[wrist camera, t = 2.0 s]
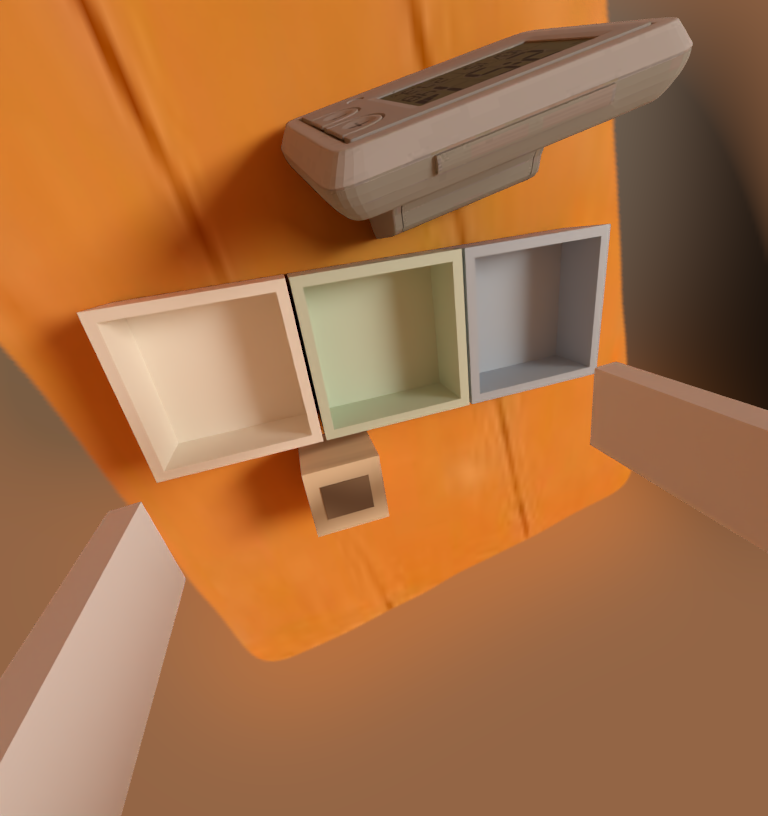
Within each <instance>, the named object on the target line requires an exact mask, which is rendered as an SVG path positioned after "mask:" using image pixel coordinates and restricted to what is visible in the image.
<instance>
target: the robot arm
mask: <svg viewBox="0 0 768 816" xmlns="http://www.w3.org/2000/svg"><path fill="white" fill-rule="evenodd" d="M590 445H592V446H593V447H595V448H597V449H598V450H600V451H601V452H603V453H605V454H606V455H608V456H610V457H611V458H613V459H615V460H616V461H618V462H619V463H621V464H623V465H624V466H626V467H628V468H629V469H631V470H633V471H634V472H636V473H637V474H639V475H641V476H643V477H644V478H646V479H647V480H649V481H650V482H652V483H654V484H656V485H657V486H659V487H661V488H662V489H664V490H665V491H667V492H669V493H670V494H672V495H674V496H675V497H677V498H678V499H680V500H682V501H683V502H685V503H686V504H688V505H690V506H691V507H693V508H695V509H696V510H698V511H700V512H701V513H703V514H705V515H706V516H708V517H710V518H711V519H713V520H714V521H716V522H717V523H719V524H721V525H723V526H724V527H726V528H727V529H729V530H731V531H732V532H734V533H735V534H737V535H739V536H740V537H742V538H744V539H745V540H747V541H749V542H750V543H752V544H753V545H755V546H757V547H758V548H760V549H762V550H763V551H765V552H767V553H768V410H765V409H762V408H758V407H755V406H752V405H749V404H746V403H743V402H740V401H737V400H734V399H731V398H727V397H724V396H721V395H718V394H715V393H712V392H709V391H705V390H702V389H699V388H696V387H693V386H690V385H687V384H684V383H681V382H678V381H674V380H671V379H668V378H665V377H662V376H659V375H656V374H653V373H650V372H647V371H643V370H640V369H637V368H634V367H631V366H628V365H625V364H622V363H619V362H613V363H610V364H607V365H603V366H600V367H596V368H595V372H594V389H593V406H592V423H591V440H590ZM185 580H186V578H185V577H184V575H183V573H182V571H181V570H180V568H179V566H178V565H177V563H176V561H175V559H174V558H173V556H172V554H171V552H170V551H169V549H168V547H167V546H166V544H165V542H164V540H163V539H162V537H161V535H160V533H159V532H158V530H157V528H156V527H155V525H154V523H153V521H152V520H151V518H150V516H149V514H148V513H147V511H146V509H145V508H144V506H143V504H142V502H138V503H135V504H132V505H128V506H125V507H121V508H118V509H115V510H111V511H108V512H107V514H106V516H105V517H104V519H103V520H102V522H101V523H100V525H99V526H98V528H97V530H96V531H95V533H94V534H93V536H92V537H91V539H90V540H89V542H88V543H87V545H86V546H85V548H84V550H83V551H82V553H81V554H80V556H79V558H78V559H77V561H76V562H75V563H74V565H73V567H72V568H71V570H70V571H69V573H68V574H67V576H66V577H65V579H64V581H63V582H62V584H61V585H60V587H59V588H58V590H57V591H56V593H55V594H54V596H53V598H52V599H51V601H50V602H49V604H48V605H47V607H46V608H45V610H44V611H43V613H42V615H41V616H40V618H39V619H38V621H37V622H36V624H35V625H34V627H33V628H32V630H31V632H30V633H29V635H28V636H27V638H26V639H25V641H24V642H23V644H22V646H21V647H20V649H19V650H18V652H17V654H16V655H15V656H14V658H13V659H12V661H11V663H10V664H9V666H8V667H7V669H6V670H5V672H4V673H3V675H2V676H1V678H0V816H121V814H122V810H123V806H124V802H125V799H126V795H127V792H128V788H129V784H130V781H131V777H132V773H133V769H134V766H135V762H136V758H137V755H138V751H139V748H140V744H141V741H142V737H143V733H144V730H145V726H146V722H147V719H148V715H149V711H150V708H151V704H152V700H153V697H154V693H155V689H156V686H157V682H158V679H159V675H160V672H161V668H162V664H163V661H164V657H165V653H166V650H167V646H168V642H169V639H170V635H171V631H172V628H173V624H174V620H175V616H176V613H177V610H178V606H179V602H180V599H181V595H182V591H183V588H184V584H185Z"/></svg>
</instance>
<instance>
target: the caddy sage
mask: <svg viewBox="0 0 768 816" xmlns="http://www.w3.org/2000/svg"><path fill="white" fill-rule="evenodd" d="M287 277H288V281H289V286H290V290H291V294H292V298H293V303H294V307H295V311H296V316H297V320H298V324H299V328H300V333H301V337H302V341H303V345H304V350H305V354H306V358H307V363H308V367H309V371H310V375H311V380H312V384H313V388H314V392H315V397H316V401H317V405H318V410H319V414H320V418H321V421H322V425H323V429H324V432H325V436H326V440H331V439H335V438H339V437H343V436H347V435H351V434H355V433H359V432H363V431H367V430H371V429H375V428H379V427H383V426H387V425H391V424H395V423H399V422H403V421H407V420H411V419H415V418H419V417H423V416H427V415H431V414H435V413H439V412H443V411H447V410H451V409H455V408H459V407H463V406H467V405H470V403H469V384H468V364H467V344H466V324H465V304H464V284H463V265H462V249H434V250H428V251H422V252H415V253H409V254H403V255H397V256H391V257H385V258H379V259H373V260H367V261H361V262H355V263H349V264H343V265H336V266H330V267H324V268H318V269H312V270H306V271H300V272H294V273H288V274H287Z"/></svg>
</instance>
